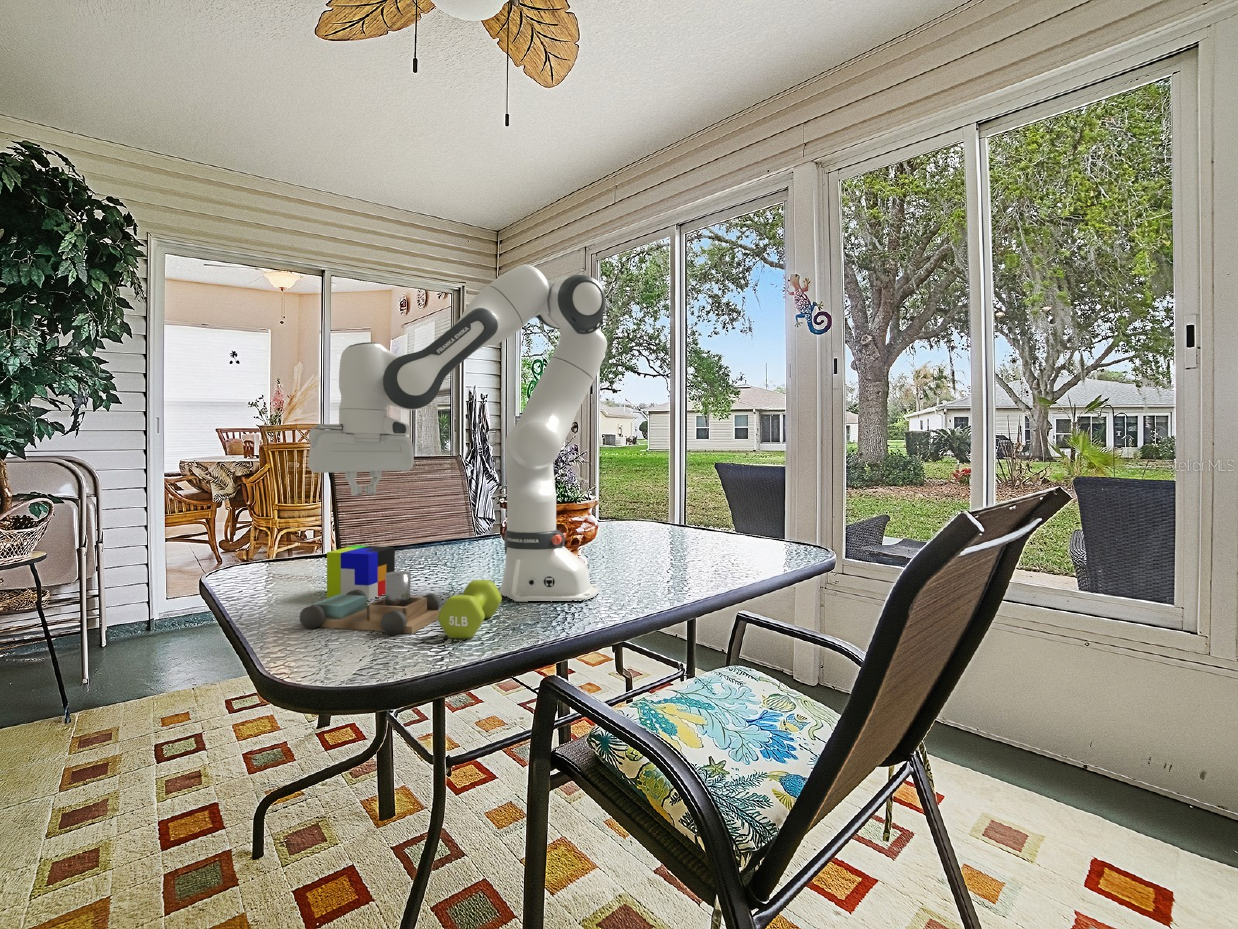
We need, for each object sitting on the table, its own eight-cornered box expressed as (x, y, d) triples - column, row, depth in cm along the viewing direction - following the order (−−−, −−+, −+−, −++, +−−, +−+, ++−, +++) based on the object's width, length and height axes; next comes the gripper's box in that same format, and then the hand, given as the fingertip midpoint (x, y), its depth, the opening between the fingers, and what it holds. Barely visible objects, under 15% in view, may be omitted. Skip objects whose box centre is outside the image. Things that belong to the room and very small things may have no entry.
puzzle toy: (368, 601, 132) (368, 554, 131) (326, 598, 134) (326, 552, 133) (394, 590, 141) (394, 547, 141) (355, 588, 143) (355, 545, 143)
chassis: (445, 614, 121) (445, 594, 121) (407, 636, 107) (407, 613, 107) (344, 608, 125) (344, 588, 125) (294, 628, 111) (294, 606, 111)
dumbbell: (480, 641, 105) (480, 599, 105) (434, 640, 105) (434, 598, 105) (504, 615, 121) (504, 579, 121) (464, 614, 122) (464, 578, 122)
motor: (415, 613, 117) (415, 571, 117) (402, 620, 112) (402, 576, 112) (393, 612, 118) (393, 570, 118) (379, 618, 113) (379, 575, 113)
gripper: (316, 422, 113) (316, 498, 113) (417, 426, 128) (417, 493, 129) (302, 423, 117) (302, 496, 117) (401, 427, 132) (401, 491, 133)
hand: (363, 494), depth 123 cm, fingers closed
